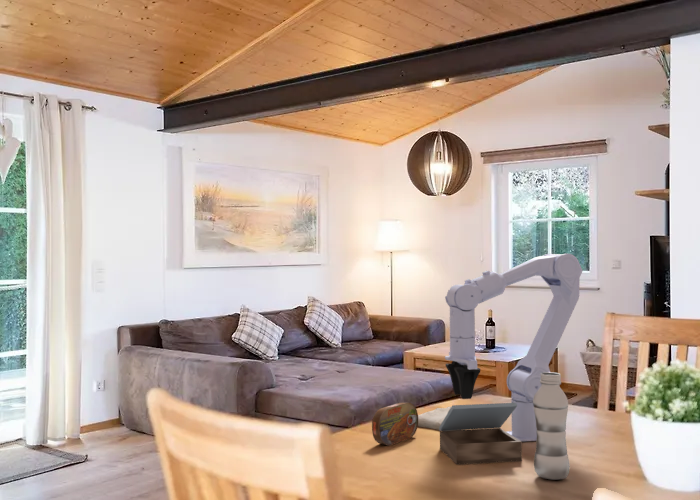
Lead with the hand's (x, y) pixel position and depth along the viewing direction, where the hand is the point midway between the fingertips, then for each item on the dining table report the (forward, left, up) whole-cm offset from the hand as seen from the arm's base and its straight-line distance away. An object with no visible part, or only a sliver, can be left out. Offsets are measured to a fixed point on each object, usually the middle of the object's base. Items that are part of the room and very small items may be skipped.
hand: (462, 396), depth 167 cm
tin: (+15, -4, -11) cm, 19 cm away
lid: (0, +10, -3) cm, 10 cm away
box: (0, +11, -10) cm, 15 cm away
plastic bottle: (-8, +29, -11) cm, 32 cm away
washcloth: (-3, -19, -11) cm, 22 cm away
